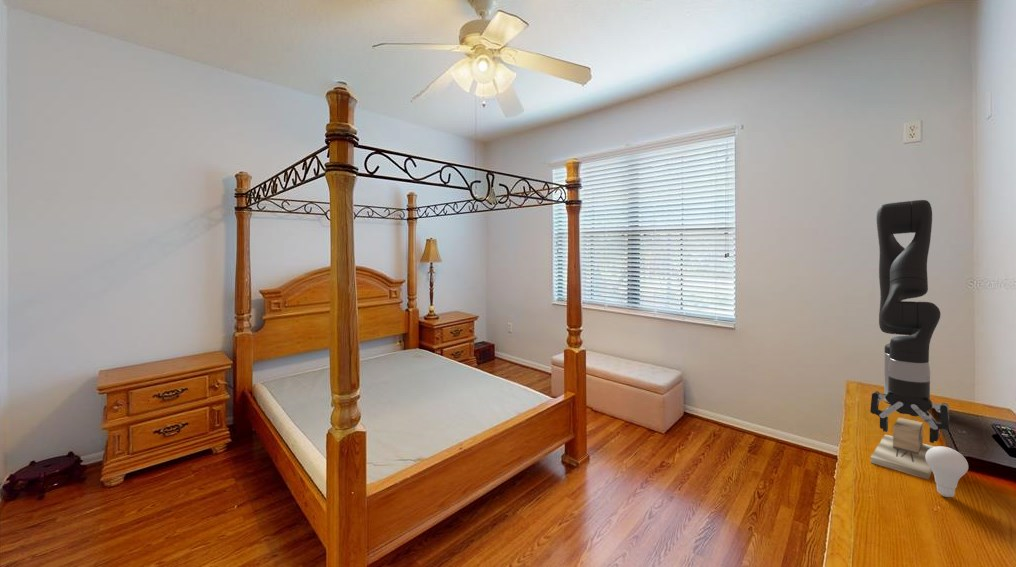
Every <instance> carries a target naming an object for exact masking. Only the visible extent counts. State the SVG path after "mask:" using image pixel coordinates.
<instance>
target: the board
mask: <svg viewBox="0 0 1016 567" xmlns="http://www.w3.org/2000/svg"><path fill="white" fill-rule="evenodd" d="M933 447H936V446H934V445H930V444H926V443H923V444H922V446H921V449H920V451H919V453H918V455H917V454H914V453H910V452H906V451H902V450H898V449H894V448H893V435H890V434H884V436H883V437H882V438H881V440H880V442H879V443H878V444H877V446H876V448H875V449H874V451H873V452H872V454H871V455H870V463H872V464H874V465H878V466H881V467H885V468H887V469H891V470H896V471H898V472H901V473H902V472H903V473H905V474H908V475H912V476H914V477H919V478H922V479H926V480H930V477H931V475H932V473H933V471H932V470H931V468H930V467H929V465H928V463H927V462H926V459H925V455H926V452H927V451H928V450H929V449H930V448H933Z"/></svg>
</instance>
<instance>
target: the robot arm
mask: <svg viewBox="0 0 1016 567" xmlns="http://www.w3.org/2000/svg"><path fill="white" fill-rule="evenodd" d="M932 224H933V208H932V206H931V203H930V202H929V200H926V199H919V200H918V199H916V200H915V199H914V200H908V201H907V200H906V201H897V202H890V203H884V204H881V205H880V206H878V208H877V212H876V229H877V237H878V246H879V261H878V263H879V264H878V266H879V267H878V278H879V279H878V280H879V291H880V292H879V293H880V294H879V295H880V298H879V300H880V301H879V312H878V313H879V314H878V324H879V328H880V331H881V332H883V333H884V334H891V335H898V336H893V337H891V339H890V340H889V341H890V342H889V343H887V344H885V345H884V370H883V371H884V374H883V375H884V377H883V378H884V383H883V384H884V386H883V389H884V390H883V393H881V392H879V391H878V390H875V391H873V392H872V393H871V398H870V401H871V402H870V409H869V411H870V413H871V414H872V415H876V416H878V417H879V428H880V429H882V431H883V432H885V433H887V432H889V415H891V414H893V413H894V412H897V413H899V414H901V415H902V414H903V415H909V416H912V417H920V418H921V419H922V420H923V421H924V422H925V423H926V424H928V425H927V426H929V443H931V444H934V443H935V442H938V440H939V438H940V437H939V436H940V435H939V433H940V432H939V430H948V429H949V428H950V425H951V422H950V420H951V419H950V409H949V408H950V406H949V404H948V403H946V402H942V403H936V402H932V401H931V397H930V396H931V368H930V361H929V360H930V344H931V340H932V337H933V335H934V332H935V330H936V329H937V327H938V326H937V325H938V324H939V322H940V320H941V310H940V308H939V307H938V305H937V304H935V303H934V302H929V301H912V300H911V301H908V299H909V300H910V299H915V298H916V299H917V298H920V297H923V296H925V295H926V294H927V293H928V291H929V286H928V285H929V281H928V257H929V253H930V252H929V250H930V246H931V238H932V228H933V225H932ZM912 233H914V236H913V239H912V240H911V242H910V243H909V244H908V246H906V247H904V246H903V245H902V244H900V242H899V241H898V240H897V239H896V237H895V236H894V235H900V234H912ZM905 300H906V301H905ZM883 400H884V402H886V403H888V404H889V406H888V407H886V408H885V409H883V410H881V409H879V406H880V402H882V401H883ZM932 408H934V409H935V411H936V412H937V413H940V422H938V421H936V419H935V418H934V416H933V415H932V414H931V413H930V412H929V410H931V409H932Z"/></svg>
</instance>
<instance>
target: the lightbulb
mask: <svg viewBox="0 0 1016 567" xmlns="http://www.w3.org/2000/svg"><path fill="white" fill-rule="evenodd" d="M925 459H926V462H927V463H928V465H929V467H930V468H931V470H932V473H933V476H934V482H935V483H936V491H937V493H939V494H940V495H942V496H943V497H945V498H953V497H955V492H956V488H957V487H958V483H959V480H960V479H961V478H962V477H963V476H964V475H965V474H967V473H968V470H969V463H968V461H967V459H966V457H964V455H963V454H962V453H960V452H959V451H957V450H955V449H954V448H950V447H947V446H943V445H941V446H939V445H938V446H935V447H933V448H930V449H929V450H928V451H927V452H926V455H925Z"/></svg>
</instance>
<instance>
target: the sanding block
mask: <svg viewBox="0 0 1016 567" xmlns="http://www.w3.org/2000/svg"><path fill="white" fill-rule="evenodd" d="M923 425H924V422H923V421H917V420H913V419H907V418H903V417H897V419H896V421H895V422H894V424H893V427H892V428H893V429H892V430H893V431H892V436H893V448H894V449H898V450H902V451H906V452H910V453H914V454H917V455H918V453H919V451H920V449H921V446H922V444H924V443H923V433H924V428H923V427H924V426H923Z"/></svg>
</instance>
